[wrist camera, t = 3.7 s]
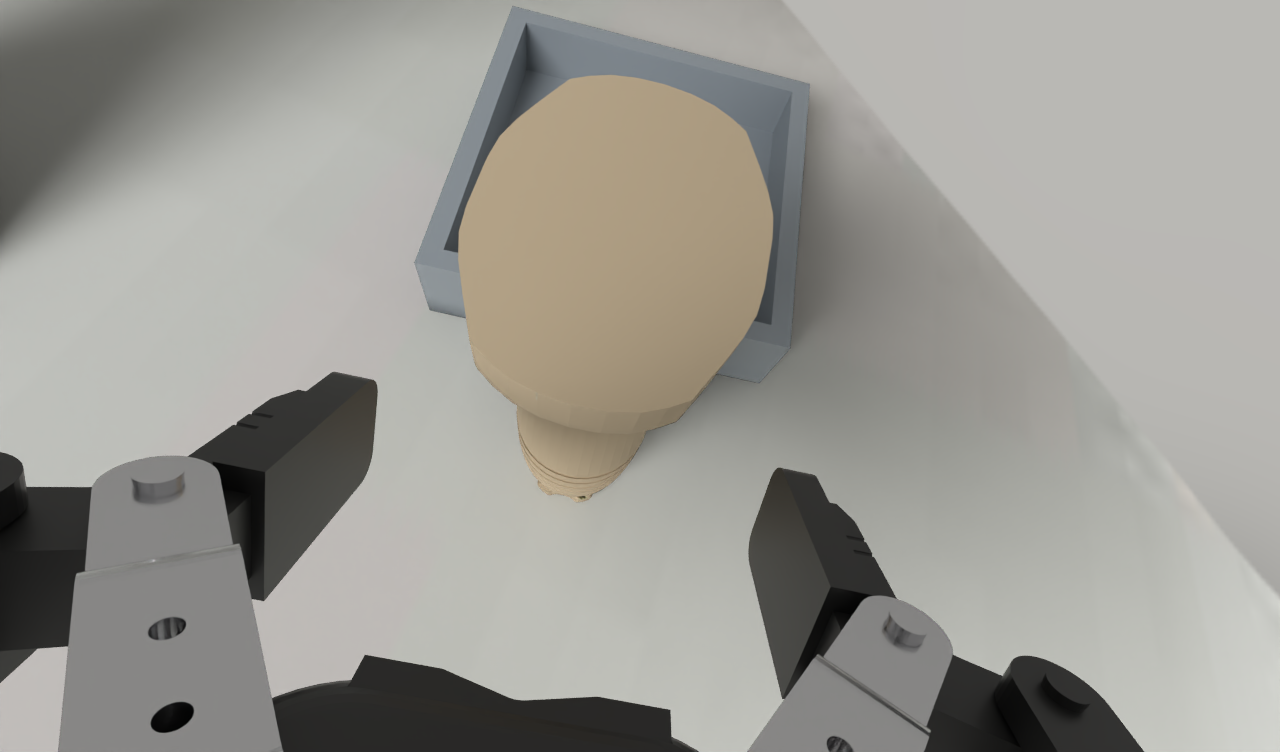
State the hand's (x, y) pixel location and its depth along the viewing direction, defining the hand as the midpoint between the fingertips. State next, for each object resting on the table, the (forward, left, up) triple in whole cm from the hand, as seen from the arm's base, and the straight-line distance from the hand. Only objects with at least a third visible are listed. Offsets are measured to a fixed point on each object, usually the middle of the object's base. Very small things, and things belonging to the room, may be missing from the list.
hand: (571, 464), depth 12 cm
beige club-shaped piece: (0, +3, -11) cm, 12 cm away
